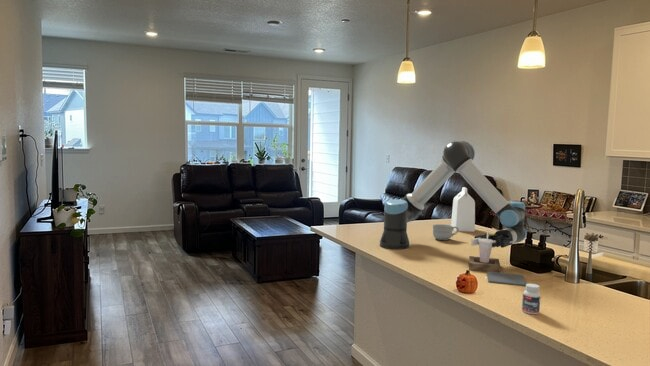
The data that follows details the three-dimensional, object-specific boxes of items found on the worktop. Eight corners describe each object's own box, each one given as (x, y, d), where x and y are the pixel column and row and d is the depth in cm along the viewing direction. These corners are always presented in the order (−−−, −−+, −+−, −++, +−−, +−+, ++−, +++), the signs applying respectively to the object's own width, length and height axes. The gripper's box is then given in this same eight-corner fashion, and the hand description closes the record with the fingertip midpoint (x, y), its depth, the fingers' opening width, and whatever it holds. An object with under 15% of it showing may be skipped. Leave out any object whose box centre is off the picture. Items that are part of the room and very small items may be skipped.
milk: (474, 231, 288) (477, 189, 286) (455, 231, 289) (457, 188, 286) (469, 227, 300) (471, 186, 298) (450, 227, 301) (452, 186, 298)
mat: (488, 282, 186) (488, 280, 186) (486, 272, 200) (487, 271, 200) (526, 286, 182) (526, 284, 182) (522, 276, 196) (522, 274, 196)
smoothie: (490, 264, 203) (492, 232, 202) (474, 262, 206) (477, 230, 205) (493, 261, 208) (495, 230, 207) (478, 258, 212) (480, 228, 210)
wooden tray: (468, 269, 204) (469, 262, 203) (468, 262, 215) (469, 256, 215) (499, 272, 200) (500, 265, 200) (498, 265, 212) (498, 258, 212)
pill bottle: (521, 313, 154) (523, 286, 153) (521, 307, 159) (523, 282, 158) (539, 315, 152) (541, 288, 151) (539, 310, 157) (541, 284, 156)
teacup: (430, 240, 261) (431, 225, 260) (433, 236, 271) (434, 222, 270) (456, 242, 256) (457, 228, 255) (458, 238, 266) (459, 224, 265)
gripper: (525, 249, 212) (500, 257, 196) (485, 241, 226) (459, 248, 210) (526, 233, 211) (501, 239, 196) (486, 225, 225) (460, 231, 210)
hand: (479, 244), depth 203 cm, fingers closed on smoothie, 6 cm apart
